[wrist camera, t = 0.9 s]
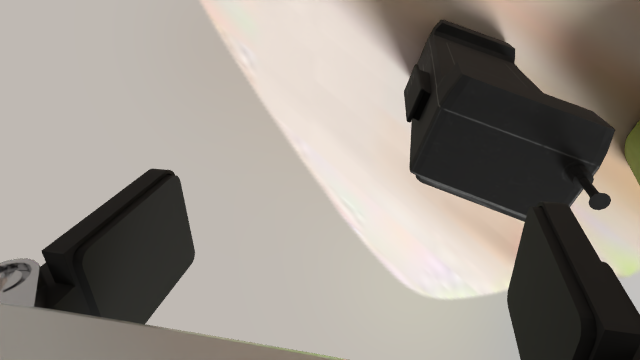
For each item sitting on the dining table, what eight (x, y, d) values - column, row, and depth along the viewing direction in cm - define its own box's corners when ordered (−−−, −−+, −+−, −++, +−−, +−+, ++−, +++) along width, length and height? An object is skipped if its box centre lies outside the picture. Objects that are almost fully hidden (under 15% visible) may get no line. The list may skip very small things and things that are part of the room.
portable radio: (399, 78, 39) (371, 216, 17) (425, 13, 36) (434, 77, 14) (478, 108, 38) (554, 286, 17) (512, 44, 35) (658, 160, 14)
